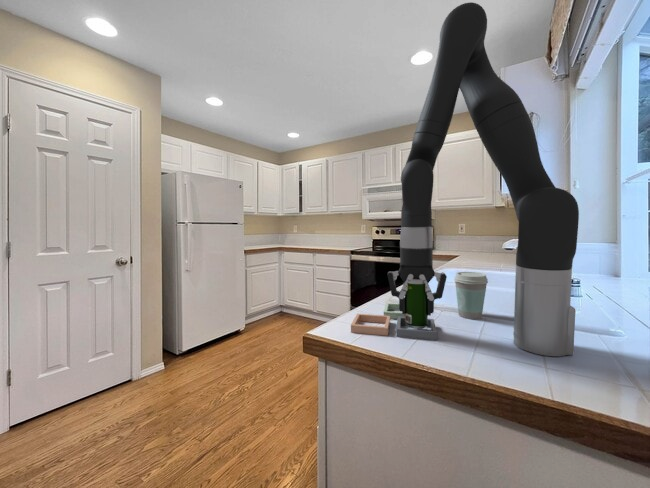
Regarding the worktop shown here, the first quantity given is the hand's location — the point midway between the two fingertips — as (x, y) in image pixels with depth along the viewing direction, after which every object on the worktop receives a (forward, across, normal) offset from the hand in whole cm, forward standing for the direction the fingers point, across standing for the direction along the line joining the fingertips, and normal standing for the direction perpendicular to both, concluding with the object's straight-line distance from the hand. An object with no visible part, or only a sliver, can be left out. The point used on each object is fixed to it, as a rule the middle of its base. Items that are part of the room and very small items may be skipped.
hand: (416, 313), depth 69 cm
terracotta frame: (+4, +11, 0) cm, 12 cm away
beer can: (+3, 0, 0) cm, 3 cm away
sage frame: (+4, +4, -12) cm, 13 cm away
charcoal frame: (+4, 0, 0) cm, 4 cm away
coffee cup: (+5, -15, -15) cm, 22 cm away
